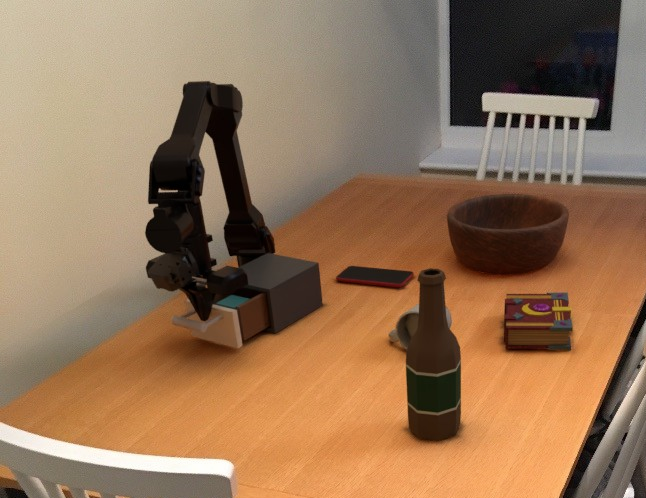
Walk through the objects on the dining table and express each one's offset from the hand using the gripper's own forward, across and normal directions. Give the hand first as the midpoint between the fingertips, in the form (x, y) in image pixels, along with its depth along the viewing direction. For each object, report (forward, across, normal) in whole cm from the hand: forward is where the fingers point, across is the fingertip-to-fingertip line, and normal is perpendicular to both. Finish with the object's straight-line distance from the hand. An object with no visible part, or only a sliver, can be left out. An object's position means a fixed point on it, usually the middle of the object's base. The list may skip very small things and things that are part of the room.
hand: (204, 320), depth 146 cm
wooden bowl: (+6, +27, +63) cm, 69 cm away
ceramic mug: (+6, +32, +19) cm, 38 cm away
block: (+4, 0, +8) cm, 8 cm away
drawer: (+5, 0, +5) cm, 7 cm away
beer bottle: (+6, +49, -4) cm, 50 cm away
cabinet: (+6, 0, +18) cm, 19 cm away
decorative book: (+6, +48, +33) cm, 58 cm away
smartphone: (+6, +8, +41) cm, 42 cm away
